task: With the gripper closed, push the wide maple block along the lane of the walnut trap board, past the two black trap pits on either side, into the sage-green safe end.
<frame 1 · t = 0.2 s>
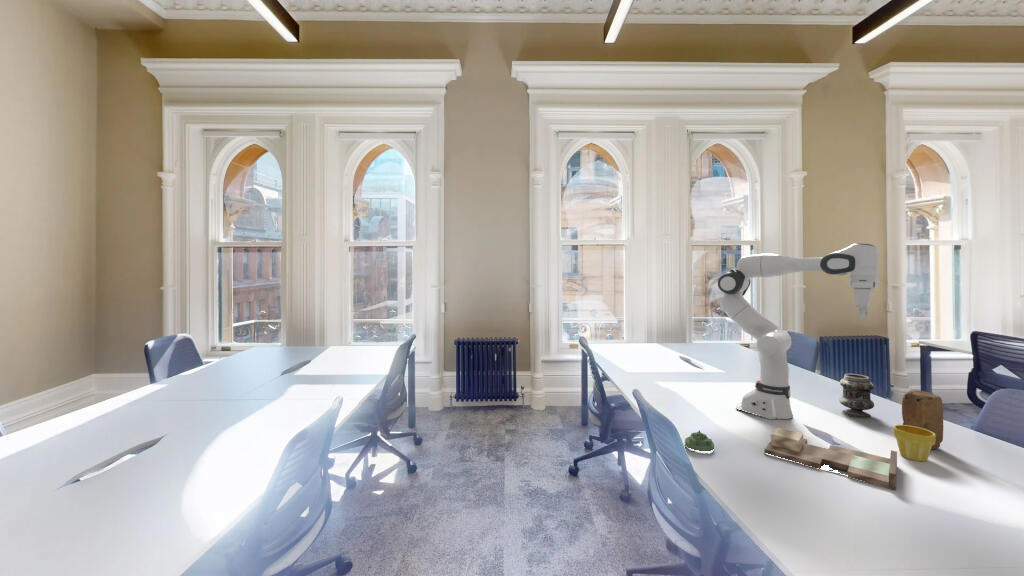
hand: (863, 317, 156), 48 cm above the table, fingers open, 8 cm apart
maple block: (787, 444, 144), point 2 cm above the table, touching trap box
decorative artifact: (699, 449, 147), on the table
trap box: (828, 460, 135), on the table
block: (920, 444, 146), on the table
apothecary jar: (856, 414, 177), on the table
plant pot: (913, 457, 136), on the table
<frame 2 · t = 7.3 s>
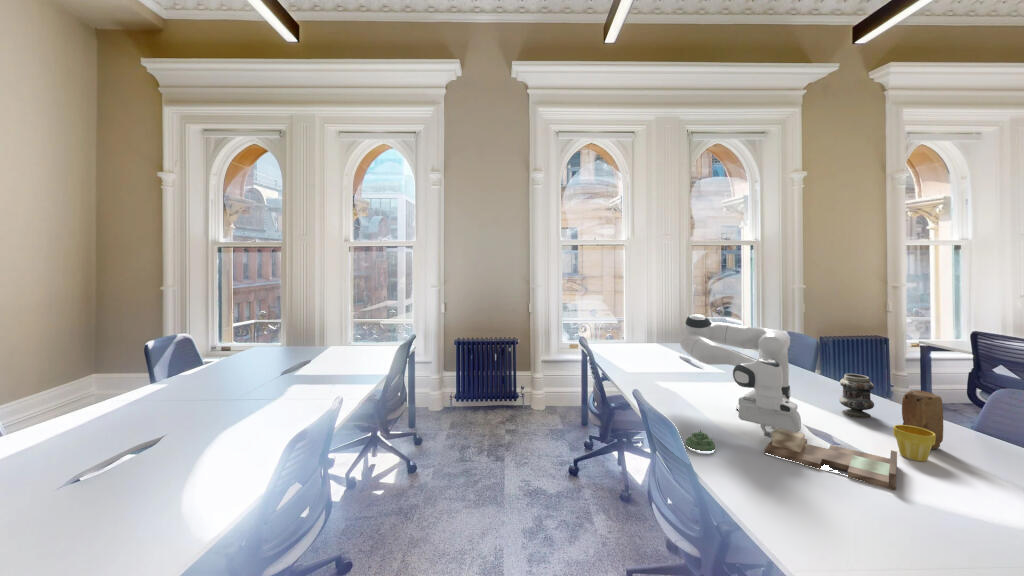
hand: (768, 436, 148), 3 cm above the table, fingers closed
maple block: (788, 444, 144), point 2 cm above the table, touching gripper
everything else where it was.
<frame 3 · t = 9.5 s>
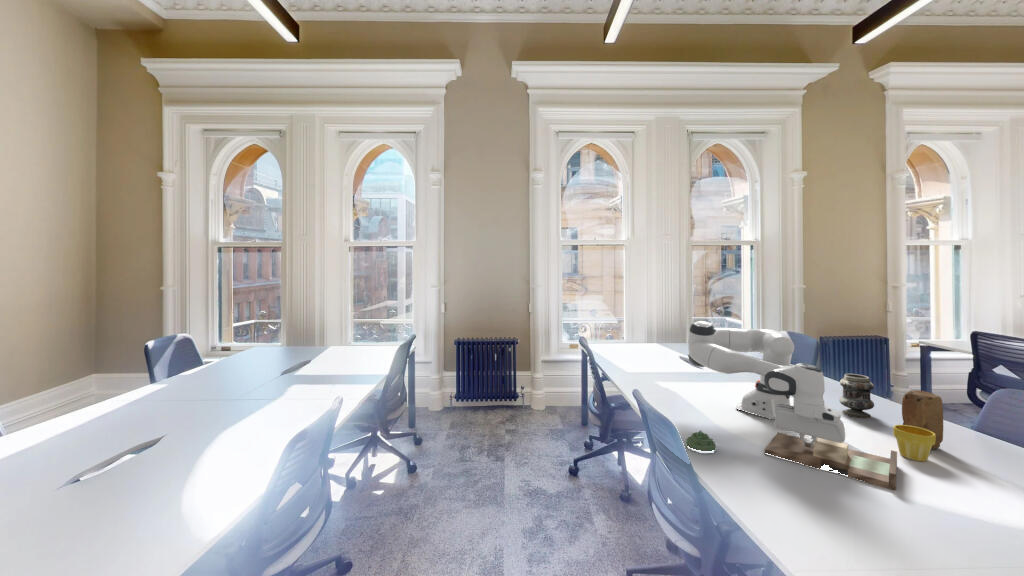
hand: (808, 446, 139), 3 cm above the table, fingers closed
maple block: (830, 455, 135), point 2 cm above the table, touching gripper
everything else where it was.
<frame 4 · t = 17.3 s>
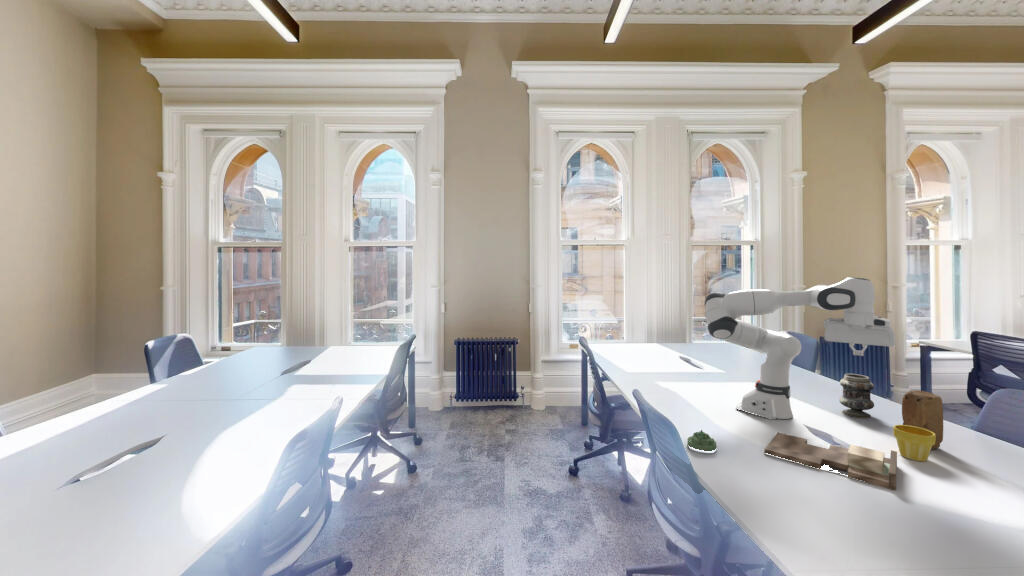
hand: (858, 355, 147), 34 cm above the table, fingers closed
maple block: (865, 464, 128), point 2 cm above the table, touching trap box
at the end: maple block inside the target area on the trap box (0.8 cm from its centre), point 2.0 cm above the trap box's base; maple block tilted 0° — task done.
